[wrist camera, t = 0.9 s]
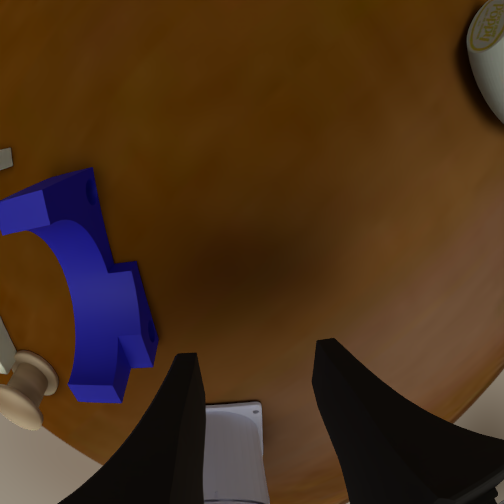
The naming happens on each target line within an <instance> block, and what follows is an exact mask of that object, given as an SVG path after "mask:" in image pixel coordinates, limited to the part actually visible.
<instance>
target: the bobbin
mask: <svg viewBox="0 0 504 504" xmlns="http://www.w3.org/2000/svg"><path fill="white" fill-rule="evenodd" d="M14 358H15V360H16V361H15V363H14V364H13V366H12V371H13V373H14V374H13V375H12V377H11V379H10V381H9V382H8V384H7V385H4V384H0V412H1V413H2V414H3V415H4V416H5V417H6V418H7V419H8V420H10V421H11V422H13V423H14V424H16V425H18V426H20V427H22V428H24V429H27V430H32V431H36V430H39V429H40V427H41V425H42V422H43V415H42V413H41V411H40V409H39V408H38V407H39V405H40V402H41V400H42V398H43V396H44V395H52V394H53V393H55V391H56V389H57V387H58V384H59V379H58V376H57V373H56V372H55V370H54V369H53V367H52V366H51V365H50V364H49V363H48V362H47V361H46V360H45V359H43V358H42V357H41V356H39V355H37V354H35V353H33V352H31V351H27V350H20V351H17V353H16V354H15V356H14Z"/></svg>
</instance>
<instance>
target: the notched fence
mask: <svg viewBox="0 0 504 504" xmlns="http://www.w3.org/2000/svg"><path fill="white" fill-rule="evenodd" d="M11 166H13V162H12V154H11V148H7V149H2V150H0V170H2V169H5V168H8V167H11ZM16 353H17V351H16V349H15V347H14V345H13V343H12V341H11V339H10V337H9V335H8V333H7V330H6V328H5V326H4V324H3V322H2V319H1V317H0V373H2V374H8V373H9V371H10V369H11V368H12V366H13V364H14V363H15V361H16V360H15V358H14V356H15V354H16Z"/></svg>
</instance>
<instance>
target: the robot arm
mask: <svg viewBox="0 0 504 504" xmlns="http://www.w3.org/2000/svg"><path fill="white" fill-rule="evenodd" d="M312 385H313V389H314V393H315V397H316V401H317V405H318V408H319V411H320V413H321V416H322V419H323V421H324V424H325V426H326V429H327V431H328V434H329V436H330V439H331V441H332V444H333V446H334V449H335V451H336V454H337V456H338V459H339V462H340V465H341V468H342V472H343V476H344V480H345V484H346V488H347V492H348V496H349V501H350V504H497V503H496V501H495V499H494V498H495V497H497V496H498V492H497V490H496V488H495V487H496V486H497V485H498V484H499V483H500V482H501V481H503V480H504V440H502V439H498V438H494V437H490V436H486V435H482V434H479V433H476V432H473V431H470V430H467V429H464V428H461V427H459V426H456V425H454V424H452V423H450V422H447V421H445V420H443V419H441V418H439V417H437V416H435V415H433V414H431V413H429V412H427V411H426V410H424V409H422V408H420V407H419V406H417V405H416V404H414V403H412V402H411V401H409V400H407V399H406V398H404V397H403V396H401V395H400V394H399V393H397V392H396V391H395V390H393V389H392V388H391V387H389V386H388V385H387V384H385V383H384V382H383V381H382V380H380V379H379V378H378V377H377V376H376V375H374V374H373V373H372V372H371V371H370V370H368V369H367V368H366V367H365V366H364V365H363V364H362V363H361V362H359V361H358V360H357V359H356V358H355V357H354V356H353V355H352V354H351V353H350V352H349V351H348V350H347V349H345V348H344V347H343V346H342V345H341V344H340V343H339V342H338V341H337V340H336V339H335V338H330V339H323V340H317V341H316V351H315V360H314V368H313V376H312ZM262 456H263V431H262V406H261V403H260V402H246V403H235V404H222V405H206V404H205V391H204V387H203V382H202V377H201V372H200V368H199V363H198V358H197V353H180V354H177V355H176V356H175V358H174V361H173V363H172V365H171V367H170V369H169V371H168V373H167V376H166V377H165V379H164V381H163V383H162V385H161V387H160V389H159V390H158V392H157V394H156V396H155V398H154V399H153V401H152V403H151V404H150V406H149V408H148V409H147V411H146V412H145V414H144V415H143V417H142V418H141V420H140V421H139V423H138V424H137V426H136V427H135V429H134V430H133V431H132V433H131V434H130V435H129V437H128V438H127V439H126V440H125V442H124V443H123V444H122V445H121V447H120V448H119V449H118V450H117V451H116V452H115V453H114V455H113V456H112V457H111V458H110V459H109V460H108V461H107V462H106V463H105V464H104V465H103V466H102V467H101V468H100V469H99V470H98V471H97V472H96V473H95V474H94V475H93V476H92V477H91V478H90V479H88V480H87V481H86V482H85V483H84V484H83V485H82V486H81V487H79V488H78V489H77V490H76V491H74V492H73V493H72V494H70V495H69V496H68V497H66V498H65V499H63V500H62V501H61V502H59V503H58V504H270V500H269V494H268V488H267V482H266V476H265V470H264V464H263V458H262ZM499 504H504V500H503V501H501V502H500V503H499Z"/></svg>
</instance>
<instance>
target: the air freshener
mask: <svg viewBox="0 0 504 504" xmlns="http://www.w3.org/2000/svg"><path fill="white" fill-rule="evenodd" d="M467 50H468V56H469V61H470V65H471V68H472V72H473V75H474V77H475V80H476V83H477V85H478V87H479V89H480V91H481V93H482V96H483V97H484V99H485V101H486V102H487V104H488V106H489V107H490V109H491V110H492V111H493V113H494V114H495V115H496V117H497V118H498V119H499V120H500V121H501V122H502V123H503V124H504V0H488V1H487V2H486V3H485V4H484V5H483V6H482V7H481V8H480V9H479V11H478V12H477V13H476V15H475V17H474V18H473V20H472V22H471V24H470V27H469V30H468V34H467Z"/></svg>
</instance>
